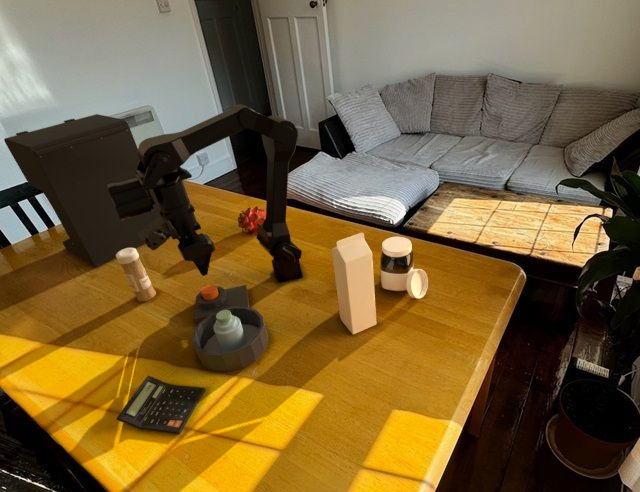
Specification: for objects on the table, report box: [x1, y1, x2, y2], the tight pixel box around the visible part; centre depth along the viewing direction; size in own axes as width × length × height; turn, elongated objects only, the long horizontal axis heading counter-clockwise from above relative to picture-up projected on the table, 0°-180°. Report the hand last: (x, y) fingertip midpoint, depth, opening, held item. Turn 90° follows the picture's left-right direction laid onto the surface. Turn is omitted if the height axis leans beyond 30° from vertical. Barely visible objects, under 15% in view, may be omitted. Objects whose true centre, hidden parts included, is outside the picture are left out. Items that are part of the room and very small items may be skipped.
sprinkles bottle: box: [115, 248, 157, 302], centre depth 101 cm, size 5×5×14 cm
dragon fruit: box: [237, 205, 266, 234], centre depth 127 cm, size 8×8×12 cm
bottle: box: [214, 310, 247, 353], centre depth 85 cm, size 5×5×9 cm
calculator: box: [115, 374, 206, 435], centre depth 75 cm, size 9×12×3 cm
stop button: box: [200, 284, 219, 300], centre depth 96 cm, size 4×4×2 cm
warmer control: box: [194, 284, 251, 326], centre depth 97 cm, size 12×9×4 cm
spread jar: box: [379, 236, 429, 299], centre depth 97 cm, size 12×11×12 cm
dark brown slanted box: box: [3, 113, 161, 269], centre depth 121 cm, size 28×20×35 cm
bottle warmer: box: [191, 306, 269, 373], centre depth 86 cm, size 14×14×5 cm
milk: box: [331, 232, 377, 336], centre depth 85 cm, size 6×6×22 cm
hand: (198, 265), depth 92 cm, fingers open, 9 cm apart
